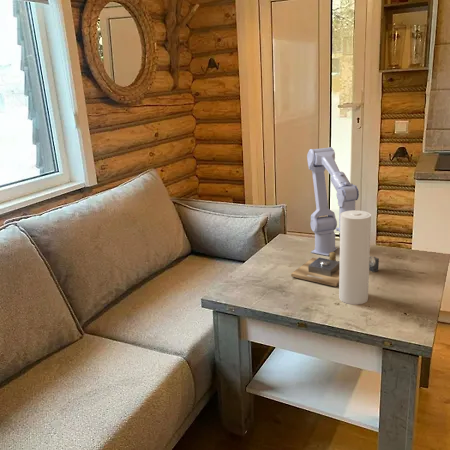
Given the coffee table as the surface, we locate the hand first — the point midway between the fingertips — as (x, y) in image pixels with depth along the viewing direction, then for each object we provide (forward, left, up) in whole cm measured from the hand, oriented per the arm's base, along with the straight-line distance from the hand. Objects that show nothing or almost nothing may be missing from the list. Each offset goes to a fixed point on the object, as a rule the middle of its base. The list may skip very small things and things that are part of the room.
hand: (346, 251), depth 174 cm
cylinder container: (+21, +11, -8) cm, 25 cm away
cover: (+8, -5, -6) cm, 11 cm away
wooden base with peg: (+8, -6, -7) cm, 12 cm away
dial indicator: (-4, +9, -7) cm, 13 cm away
